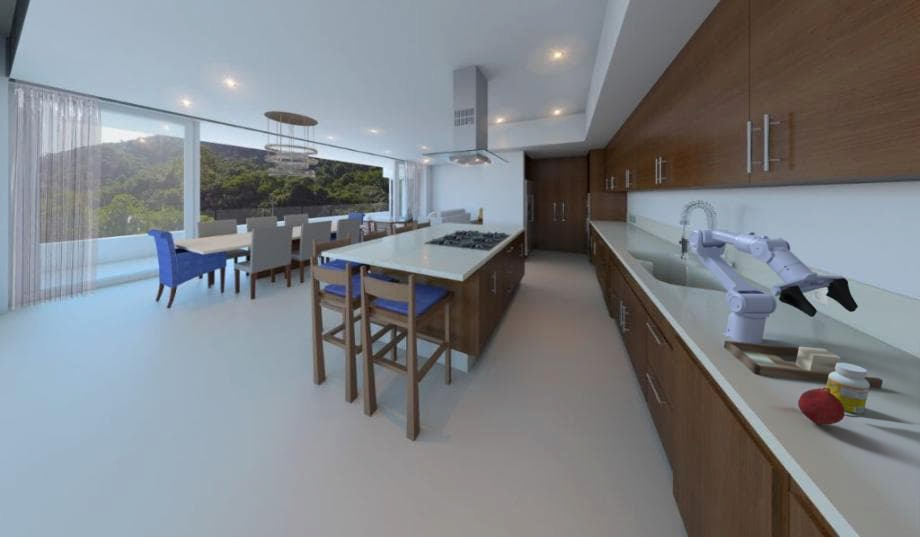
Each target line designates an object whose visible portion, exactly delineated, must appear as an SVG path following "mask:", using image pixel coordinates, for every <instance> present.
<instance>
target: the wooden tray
mask: <svg viewBox="0 0 920 537" xmlns="http://www.w3.org/2000/svg"><path fill="white" fill-rule="evenodd" d="M799 347H800V346H798V347H797V346H786V345H773V344H766V343H761V344H755V343H745V342H740V341H731V340H725V341H724V344H723V348H724V349H726V351H727V352H729V353H730V354H732V355H733V357H735V358H736V359H737V361H739V362H740V363H741V364H743V365H744V366H745V367H746V368H747V369H748V370H750V371H751V373H752V374H754V375H761V376H771V377H778V378H779V377H780V378H786V379H795V380H802V381H803V380H804V381H811V382H812V381H814V382H820V383H821V382H822V383H827V380H828V376H829V374H830V373H828V372H819V371H810V370H803V369H801V368H800V367H798V366H797V365H796V360H797V355H798V350H799ZM826 350H827V351H829V352H831V351H830V350H828V349H826ZM864 379H865V380H867V381H868V382H869V384H870V387H869V388H873V389H874V388H875V389H882V384H883V379H882V378H879V377H875V376H874V377H872V376H866V377H865V378H864Z"/></svg>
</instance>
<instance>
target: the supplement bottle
mask: <svg viewBox="0 0 920 537" xmlns="http://www.w3.org/2000/svg"><path fill="white" fill-rule="evenodd" d="M835 370H836V372H831V373H830V374H829V376H828V380H827V382H826V384H825V385H826V386H825V387H829V388H830V389H831V391H830V393H832V394H833V395H834V396H835V397H837V398H838V399H839V401H840V402H841V403H842V405H843V407H844V417H849V418H861V416H860V415H863V414H864V412H865V408H866V403H867V398H868V394H869V392H870V391H869V390H870V388H871V387H870V384H869V382H868V381H867V380H865V379H864V378H865V377H868V376H867V374H868V370H867V369H866V368H864V367H861V366H858V365H856V364H852V363H848V362H839V363H837V364H836V366H835ZM845 413H848V414H845ZM850 414H853V415H850Z"/></svg>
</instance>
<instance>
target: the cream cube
mask: <svg viewBox="0 0 920 537" xmlns="http://www.w3.org/2000/svg"><path fill="white" fill-rule="evenodd" d="M798 347H799V350H798V355H797V360H796V365H797V366H798V367H800V368H801V369H803V370H810V371H819V372H828V373H831V372H836V370H835V366H836V364H837V363H841V357H840V356H839V355H836V354H835V353H833V352H831V351H830V350H828V349H825V348H818V347H816V348H815V347H810V346H809V347H806V346H798ZM827 350H828V351H827ZM829 351H830V352H829Z"/></svg>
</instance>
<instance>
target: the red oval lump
mask: <svg viewBox="0 0 920 537" xmlns="http://www.w3.org/2000/svg"><path fill="white" fill-rule="evenodd" d="M830 391H831V389H830V388H829V387H826V386H822V387H819V388H813V389H809V390H807V391H804V392H803V393H802V394H801V395H800V397H799V399H798V402H797V406H798V408H799V409H800V412H801V413H802V414H803V415H804V416H805V417H806V418H807V419H808V420H810V421H811V422H812V423H813V424H815V425H818V426H824V425H833V424H837V423H839V422H841V421H842V420H844V417H845V416H844V414H845V412H844V407H843V405H842V403H841V402H840V401H839V399H838V398H837V397H835V396H834V395H833V394H832V393H830Z"/></svg>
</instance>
